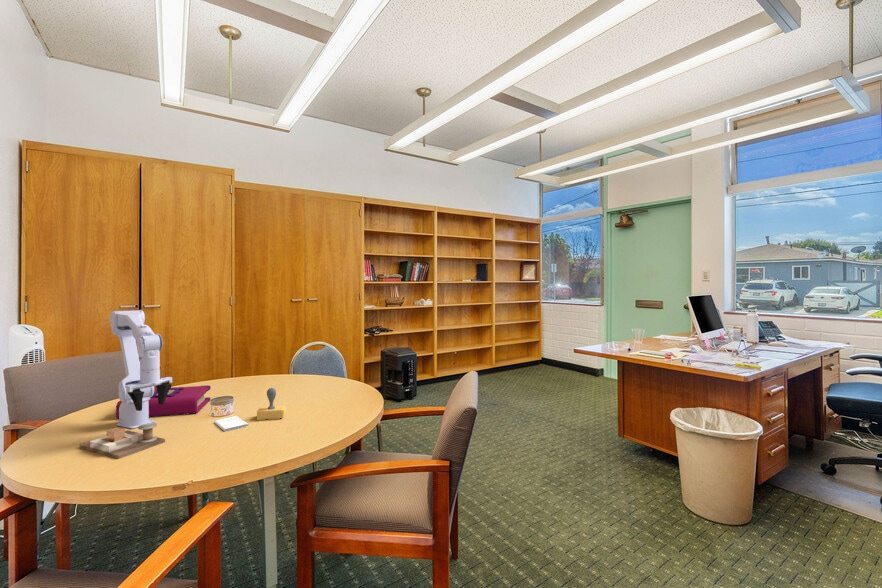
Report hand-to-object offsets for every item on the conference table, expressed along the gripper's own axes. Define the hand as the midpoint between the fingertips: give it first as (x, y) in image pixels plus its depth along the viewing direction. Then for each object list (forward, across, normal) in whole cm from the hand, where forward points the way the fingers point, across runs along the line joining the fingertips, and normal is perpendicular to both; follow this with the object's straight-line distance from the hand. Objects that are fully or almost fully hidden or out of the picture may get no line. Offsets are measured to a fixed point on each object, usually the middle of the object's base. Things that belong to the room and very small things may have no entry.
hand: (150, 407), depth 142 cm
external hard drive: (+10, +18, -18) cm, 27 cm away
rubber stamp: (+10, +30, -26) cm, 41 cm away
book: (+10, +21, +22) cm, 32 cm away
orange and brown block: (+8, -12, -3) cm, 15 cm away
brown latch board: (+9, -10, -2) cm, 14 cm away
